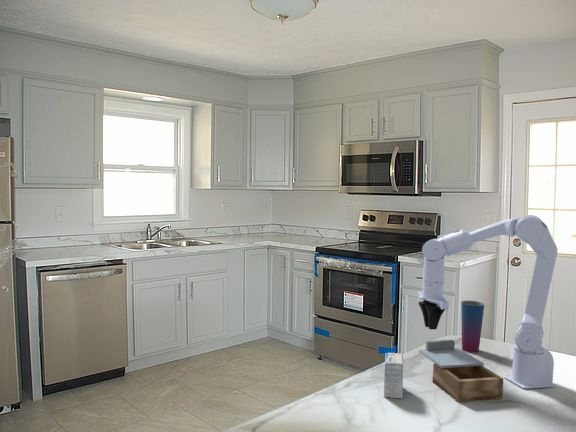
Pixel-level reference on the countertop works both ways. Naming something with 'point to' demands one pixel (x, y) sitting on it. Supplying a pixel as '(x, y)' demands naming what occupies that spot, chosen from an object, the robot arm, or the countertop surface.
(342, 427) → the countertop surface
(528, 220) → the robot arm
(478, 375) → the walnut box
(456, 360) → the lid
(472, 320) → the cup
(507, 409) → the countertop surface
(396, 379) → the medicine box
